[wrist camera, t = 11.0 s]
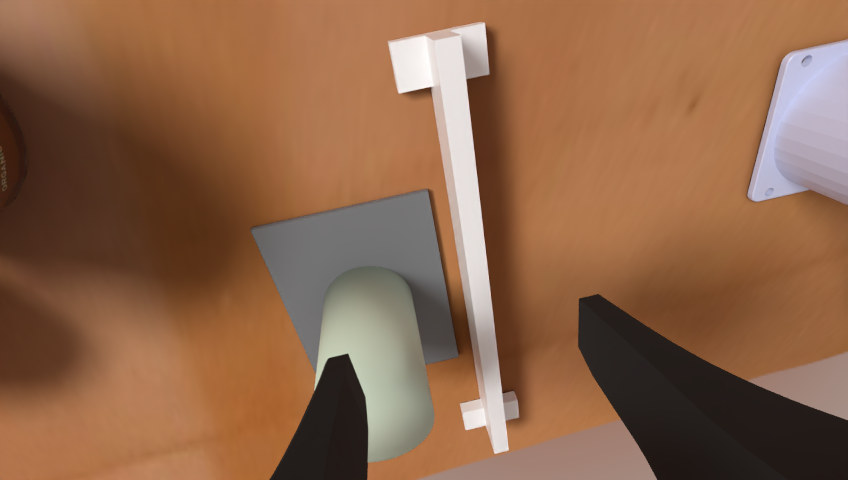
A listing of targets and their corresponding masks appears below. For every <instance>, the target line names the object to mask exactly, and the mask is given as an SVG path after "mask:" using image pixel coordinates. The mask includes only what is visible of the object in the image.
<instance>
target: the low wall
mask: <svg viewBox="0 0 848 480" xmlns="http://www.w3.org/2000/svg"><path fill="white" fill-rule="evenodd" d="M388 46H389V51H390V56H391V61H392V66H393V71H394V76H395V81H396V86H397V90H398V93H404V92H409V91H413V90H418V89H423V88H427V87H431V91H432V98H433V104H434V110H435V117H436V123H437V129H438V135H439V142H440V148H441V154H442V161H443V167H444V173H445V180H446V186H447V192H448V198H449V205H450V211H451V217H452V224H453V230H454V236H455V243H456V249H457V255H458V262H459V268H460V274H461V280H462V287H463V293H464V299H465V306H466V312H467V318H468V325H469V331H470V337H471V343H472V350H473V356H474V362H475V369H476V375H477V381H478V388H479V394H480V399H477V400H473V401H469V402H465V403H460V406H461V411H462V416H463V421H464V425H465V429H466V430H469V429H473V428H477V427H481V426H486V427H487V431H488V434H489V437H490V441H491V444H492V447H493V450H494V454H496V453H500V452H504V451H508V450H509V449H508V440H507V431H506V423H505V421H506V420H510V419H515V418H519V410H518V400H517V397H516V395H515V392H514V391H511V392H506V393H502V388H501V379H500V370H499V362H498V353H497V344H496V336H495V327H494V318H493V310H492V301H491V292H490V284H489V275H488V266H487V258H486V249H485V240H484V231H483V223H482V214H481V205H480V197H479V188H478V179H477V171H476V162H475V153H474V145H473V136H472V127H471V119H470V110H469V101H468V92H467V84H466V79H470V78H474V77H479V76H484V75H488V74H489V63H488V52H487V40H486V29H485V23H483V22H477V23H473V24H468V25H463V26H458V27H453V28H449V29H444V30H439V31H434V32H429V33H425V34H420V35H415V36H410V37H406V38H401V39H396V40H391V41H388Z"/></svg>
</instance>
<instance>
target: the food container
mask: <svg viewBox="0 0 848 480" xmlns="http://www.w3.org/2000/svg"><path fill="white" fill-rule="evenodd" d="M25 175H26V148H25V145H24V141H23V137H22V134H21V131H20V129H19V126H18V124H17V122H16V120H15V118H14V116H13V114H12V112H11V110H10V109H9V107H8V106H7V104H6V103H5V101H4V100H3V98H2V97H1V95H0V211H1V210H2V209H3V208H4V207H5V206H7V205H8V204H9V203H10V202H12V201H13V200H14V199H15V198H16V196H17V194H18V191H19V189H20V187H21V184H22V182H23V180H24V178H25Z"/></svg>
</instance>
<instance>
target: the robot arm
mask: <svg viewBox="0 0 848 480" xmlns="http://www.w3.org/2000/svg"><path fill="white" fill-rule="evenodd" d="M804 58H805V59H804ZM803 59H804V61H803ZM802 61H803V63H802ZM807 190H813V191H815V192H818V193H820V194H822V195H825V196H827V197H829V198H832V199H834V200H836V201H839V202H841V203H843V204H846V205H848V40H843V41H838V42H834V43H829V44H825V45H820V46H815V47H811V48H806V49H801V50H797V51H793V52H790V53H789V54H788V55H786V56H785V58H784V59H783V60H782V63H781V66H780V69H779V73H778V77H777V81H776V85H775V89H774V93H773V97H772V101H771V104H770V108H769V112H768V116H767V120H766V124H765V128H764V132H763V136H762V139H761V143H760V147H759V151H758V155H757V159H756V163H755V167H754V171H753V175H752V178H751V182H750V186H749V190H748V198H749V199H751V200H753V201H755V202H758V201H763V200H767V199H772V198H776V197H780V196H785V195H789V194H793V193H798V192H802V191H807ZM578 347H579V349H580V351H581V353H582V355H583V357H584V359H585V361H586V363H587V365H588V367H589V369H590V371H591V373H592V375H593V377H594V378H595V380H596V381H597V383H598V385H599V386H600V388H601V389H602V391H603V392H604V394H605V395H606V397H607V398H608V400H609V401H610V403H611V405H612V406H613V408H614V409H615V411H616V412H617V414H618V415H619V417H620V418H621V420H622V421H623V423H624V424H625V426H626V427H627V429H628V430H629V432H630V433H631V435H632V436H633V438H634V439H635V441H636V443H637V444H638V446H639V448H640V449H641V451H642V452H643V454H644V456H645V457H646V459H647V461H648V463H649V465H650V467H651V469H652V471H653V472H654V474H655V476H656V478H657V480H848V420H845V419H842V418H840V417H837V416H834V415H831V414H828V413H825V412H823V411H820V410H817V409H814V408H811V407H809V406H806V405H803V404H800V403H798V402H796V401H793V400H790V399H788V398H785V397H783V396H781V395H778V394H776V393H774V392H771V391H769V390H766V389H764V388H762V387H759V386H757V385H755V384H752V383H750V382H748V381H746V380H744V379H741V378H739V377H737V376H735V375H733V374H731V373H729V372H727V371H725V370H723V369H721V368H719V367H717V366H715V365H713V364H711V363H709V362H707V361H705V360H703V359H701V358H699V357H698V356H696V355H694V354H692V353H690V352H689V351H687V350H685V349H683V348H682V347H680V346H678V345H676V344H675V343H673V342H671V341H670V340H668V339H666V338H665V337H663V336H661V335H660V334H658V333H657V332H655V331H653V330H652V329H650V328H649V327H647V326H646V325H644V324H642V323H641V322H639V321H638V320H636V319H635V318H633V317H632V316H630V315H629V314H627V313H626V312H624V311H623V310H621V309H620V308H618V307H617V306H615V305H614V304H612V303H611V302H609V301H608V300H606V299H605V298H603V297H602V296H600V295H599V294H597V295H593V296H588V297H584V298H580V299H579V333H578ZM367 469H368V419H367V407H366V397H365V394H364V392H363V389H362V387H361V384H360V382H359V379H358V377H357V374H356V372H355V369H354V367H353V364H352V362H351V359H350V357H349V354H344V355H339V356H335V357H331V358H328V359H327V361H326V363H325V366H324V368H323V371H322V374H321V376H320V379H319V381H318V384H317V386H316V389H315V391H314V393H313V396H312V398H311V400H310V403H309V405H308V407H307V409H306V411H305V414H304V416H303V418H302V420H301V422H300V424H299V427H298V429H297V431H296V433H295V434H294V436H293V438H292V440H291V442H290V444H289V446H288V448H287V450H286V452H285V454H284V456H283V457H282V459H281V461H280V463H279V465H278V466H277V468H276V470H275V472H274V473H273V475H272V477H271V478H270V480H367Z"/></svg>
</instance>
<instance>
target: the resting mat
mask: <svg viewBox="0 0 848 480" xmlns="http://www.w3.org/2000/svg"><path fill="white" fill-rule="evenodd" d="M251 233H252V235H253V237H254V239H255V241H256V244H257V246H258V248H259V250H260V252H261V255H262V257H263V259H264V261H265V263H266V266H267V268H268V270H269V272H270V274H271V276H272V279H273V281H274V283H275V285H276V287H277V290H278V292H279V294H280V296H281V298H282V301H283V303H284V305H285V307H286V309H287V312H288V314H289V316H290V318H291V320H292V323H293V325H294V327H295V329H296V331H297V334H298V336H299V338H300V340H301V342H302V345H303V347H304V349H305V351H306V353H307V356H308V358H309V360H310V362H311V364H312V367H313V369H314V371H315V373H316V371H317V362H318V352H319V343H320V334H321V325H322V316H323V307H324V298H325V294H326V291H327V289H328V287H329V286H330V284H331V283H332V282H333V281H334V280H335V279H336V278H337V277H338V276H340V275H341V274H343V273H344V272H346V271H348V270H351V269H354V268H357V267H363V266H377V267H383V268H386V269H389V270H391V271H394V272H395V273H397V274H398V275H400V276H401V277H402V278H403V279H404V280H405V281H406V282H407V284H408V285H409V287H410V289H411V293H412V297H413V303H414V308H415V313H416V319H417V324H418V330H419V335H420V340H421V346H422V351H423V356H424V362H425V365H426V364H431V363H435V362H439V361H443V360H448V359H452V358H456V357H459V356H458V350H457V345H456V340H455V334H454V329H453V323H452V318H451V313H450V307H449V302H448V296H447V291H446V286H445V280H444V275H443V269H442V264H441V259H440V253H439V248H438V242H437V237H436V232H435V226H434V221H433V215H432V210H431V205H430V199H429V194H428V190H427V189H424V190H419V191H415V192H410V193H406V194H401V195H397V196H392V197H388V198H383V199H379V200H374V201H370V202H365V203H361V204H356V205H352V206H347V207H342V208H338V209H333V210H329V211H324V212H320V213H315V214H311V215H306V216H302V217H297V218H293V219H288V220H284V221H279V222H275V223H270V224H266V225H261V226H257V227H252V228H251Z"/></svg>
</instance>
